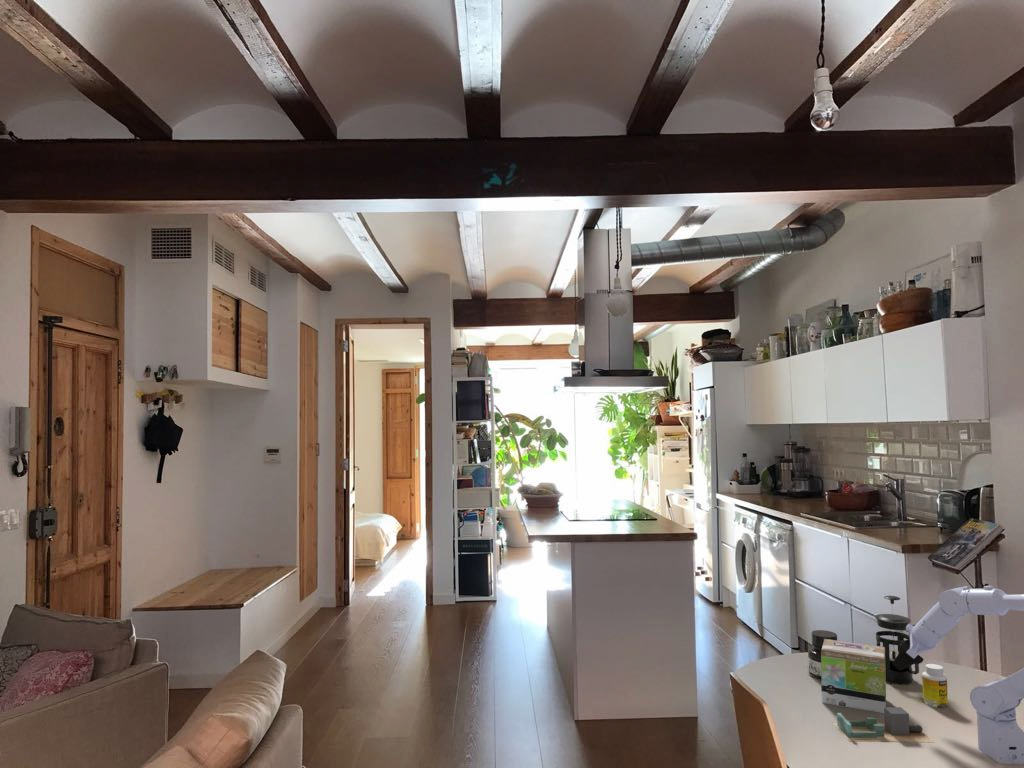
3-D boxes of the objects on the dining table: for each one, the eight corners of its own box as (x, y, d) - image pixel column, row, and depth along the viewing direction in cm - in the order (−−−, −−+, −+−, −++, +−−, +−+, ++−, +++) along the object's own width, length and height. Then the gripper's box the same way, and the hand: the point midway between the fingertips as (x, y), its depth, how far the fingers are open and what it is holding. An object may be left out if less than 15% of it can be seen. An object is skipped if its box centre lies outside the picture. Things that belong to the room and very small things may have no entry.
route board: (934, 745, 165) (934, 728, 165) (849, 744, 166) (848, 727, 166) (912, 726, 175) (912, 710, 175) (832, 725, 176) (831, 709, 176)
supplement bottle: (941, 712, 182) (940, 671, 182) (918, 705, 187) (917, 665, 187) (952, 707, 185) (951, 667, 185) (929, 700, 190) (928, 660, 190)
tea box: (821, 706, 187) (819, 648, 188) (824, 692, 196) (823, 637, 196) (886, 717, 180) (884, 657, 181) (886, 702, 189) (885, 645, 189)
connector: (926, 735, 168) (925, 714, 168) (891, 735, 168) (891, 713, 168) (918, 728, 171) (917, 707, 172) (884, 728, 172) (884, 707, 172)
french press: (867, 676, 207) (865, 595, 208) (883, 669, 212) (881, 590, 213) (910, 689, 197) (907, 604, 198) (925, 680, 203) (923, 598, 204)
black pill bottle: (801, 670, 212) (800, 629, 212) (828, 668, 214) (827, 627, 214) (821, 683, 202) (820, 640, 203) (849, 680, 204) (848, 637, 204)
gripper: (926, 600, 179) (895, 634, 186) (909, 626, 169) (877, 661, 176) (954, 621, 176) (921, 655, 183) (938, 649, 166) (904, 683, 173)
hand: (901, 659), depth 179 cm, fingers open, 7 cm apart
